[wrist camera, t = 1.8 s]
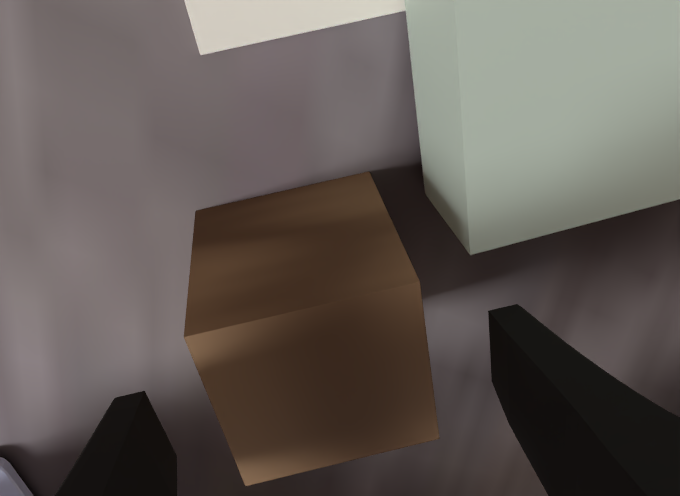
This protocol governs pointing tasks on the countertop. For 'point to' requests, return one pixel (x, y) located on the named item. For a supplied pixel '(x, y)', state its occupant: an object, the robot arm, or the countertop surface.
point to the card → (274, 18)
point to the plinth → (545, 112)
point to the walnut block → (309, 329)
